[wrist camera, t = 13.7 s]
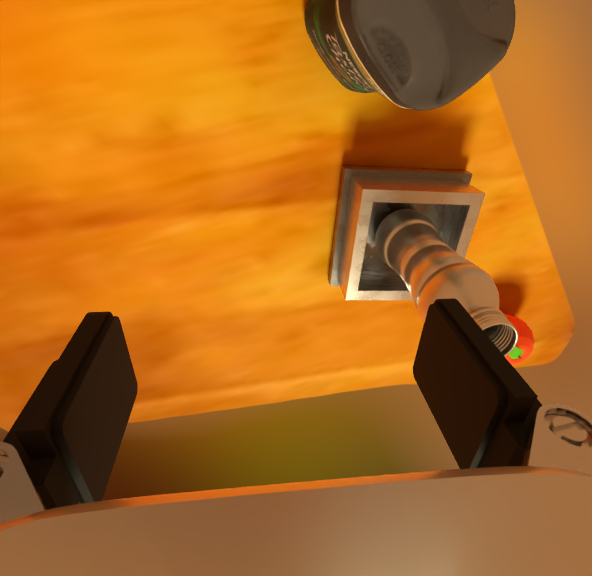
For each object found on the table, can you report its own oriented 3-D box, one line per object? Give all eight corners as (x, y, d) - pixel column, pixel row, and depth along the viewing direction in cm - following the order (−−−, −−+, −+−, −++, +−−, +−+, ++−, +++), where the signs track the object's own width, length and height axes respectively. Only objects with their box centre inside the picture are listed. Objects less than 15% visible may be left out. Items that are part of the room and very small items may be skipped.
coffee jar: (287, 16, 33) (323, -24, 17) (360, -61, 31) (476, -185, 15) (351, 108, 38) (426, 143, 22) (419, 46, 35) (556, 36, 20)
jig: (342, 165, 40) (355, 180, 35) (465, 170, 42) (495, 185, 37) (328, 279, 47) (337, 306, 42) (433, 279, 49) (455, 305, 44)
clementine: (452, 326, 54) (478, 360, 48) (491, 292, 51) (524, 323, 45) (484, 350, 57) (512, 385, 51) (523, 319, 54) (557, 352, 48)
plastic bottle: (421, 194, 41) (540, 290, 24) (429, 247, 45) (538, 362, 28) (364, 214, 42) (442, 321, 25) (377, 265, 45) (452, 389, 28)
